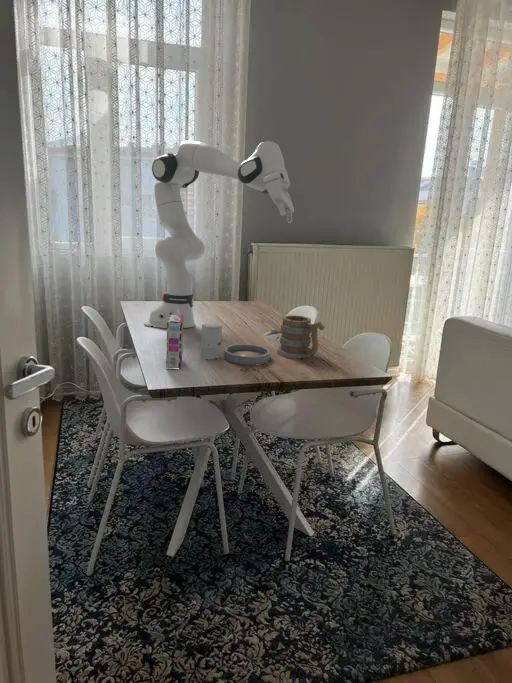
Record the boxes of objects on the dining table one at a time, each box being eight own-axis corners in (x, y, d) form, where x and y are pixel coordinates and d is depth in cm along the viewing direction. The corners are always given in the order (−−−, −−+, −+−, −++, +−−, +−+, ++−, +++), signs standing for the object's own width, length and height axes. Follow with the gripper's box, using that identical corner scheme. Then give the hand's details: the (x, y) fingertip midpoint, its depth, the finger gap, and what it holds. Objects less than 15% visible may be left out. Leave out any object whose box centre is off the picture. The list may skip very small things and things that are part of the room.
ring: (275, 344, 211) (276, 339, 210) (256, 332, 228) (256, 328, 227) (316, 341, 219) (317, 337, 218) (295, 330, 236) (295, 326, 235)
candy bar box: (181, 370, 172) (182, 322, 167) (165, 369, 171) (166, 321, 167) (183, 360, 183) (184, 314, 178) (168, 359, 182) (169, 314, 178)
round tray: (221, 363, 181) (221, 355, 180) (225, 350, 197) (226, 342, 196) (269, 366, 180) (270, 358, 180) (270, 353, 197) (270, 345, 196)
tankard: (271, 351, 199) (273, 313, 195) (296, 347, 207) (299, 311, 203) (305, 366, 184) (309, 325, 180) (331, 361, 191) (335, 322, 187)
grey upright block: (206, 360, 184) (207, 327, 181) (200, 356, 187) (201, 324, 184) (221, 358, 187) (222, 325, 184) (215, 354, 191) (216, 322, 188)
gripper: (277, 195, 201) (286, 228, 199) (261, 177, 181) (270, 213, 179) (292, 189, 199) (301, 223, 197) (277, 170, 179) (287, 207, 178)
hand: (286, 218), depth 188 cm, fingers open, 8 cm apart
